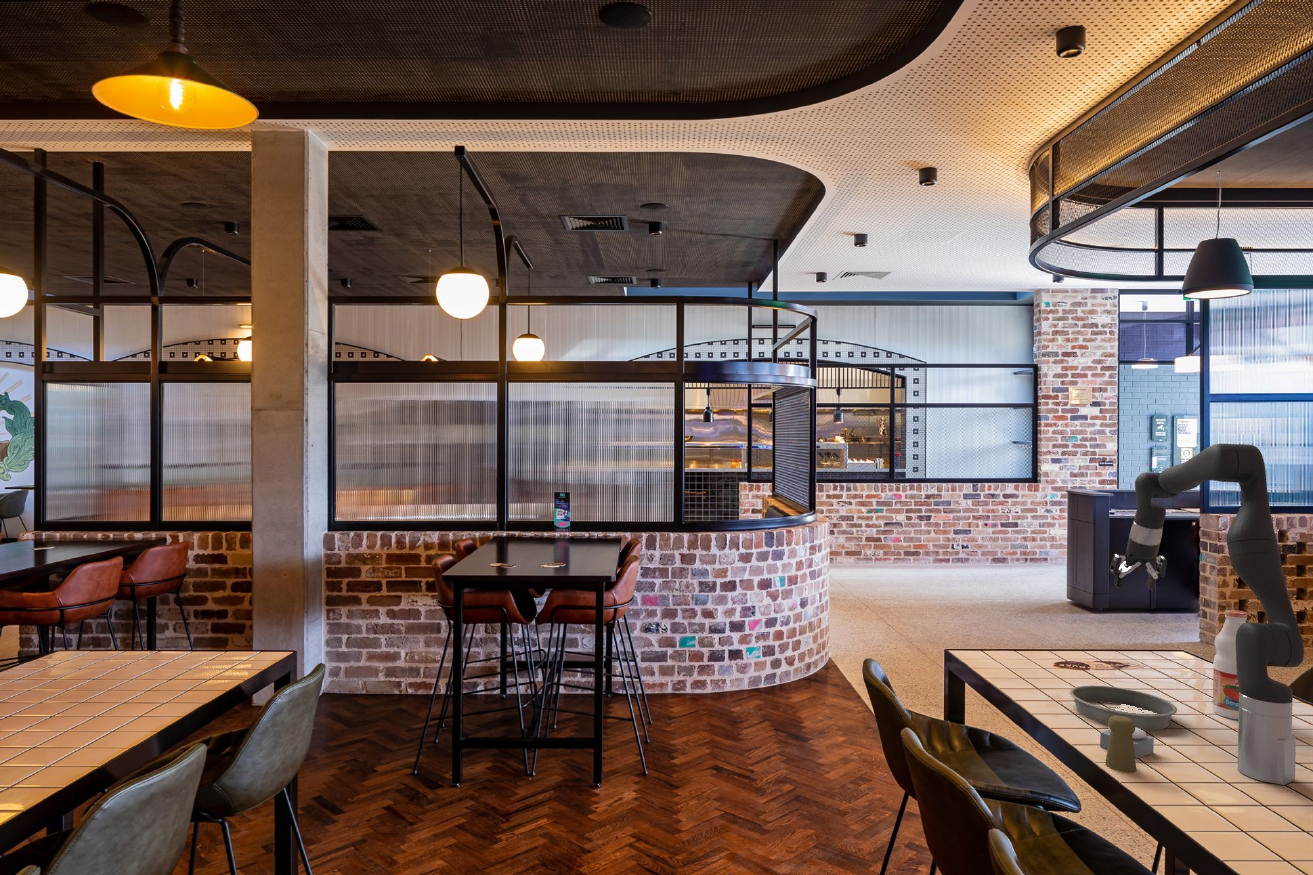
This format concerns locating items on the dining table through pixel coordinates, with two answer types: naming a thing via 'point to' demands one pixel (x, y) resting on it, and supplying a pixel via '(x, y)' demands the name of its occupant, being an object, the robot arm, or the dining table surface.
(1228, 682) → the fruit juice
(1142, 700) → the cake pan
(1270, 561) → the robot arm
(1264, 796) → the dining table surface
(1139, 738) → the scale
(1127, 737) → the olive pepper mill
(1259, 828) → the dining table surface
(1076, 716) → the dining table surface
